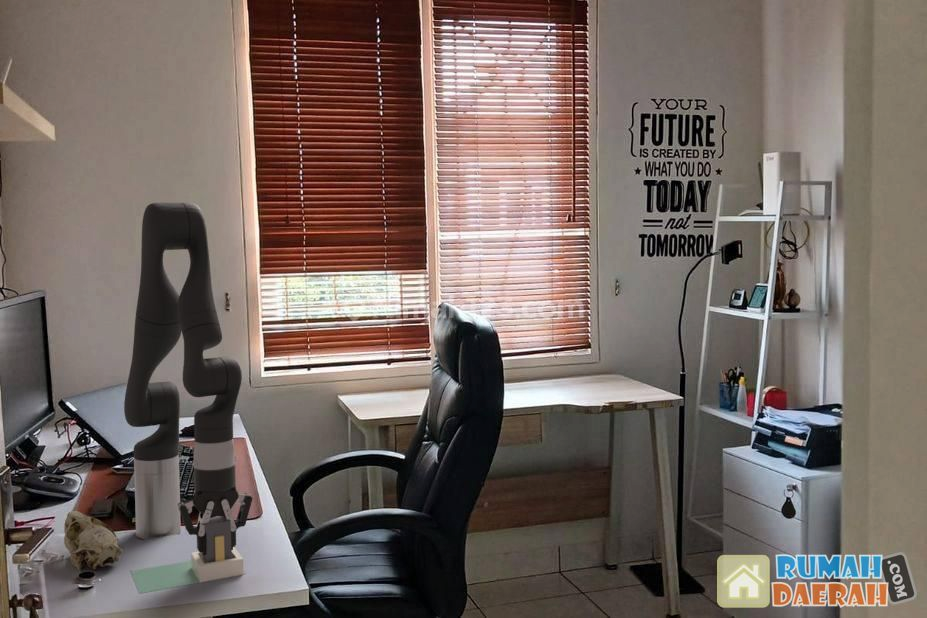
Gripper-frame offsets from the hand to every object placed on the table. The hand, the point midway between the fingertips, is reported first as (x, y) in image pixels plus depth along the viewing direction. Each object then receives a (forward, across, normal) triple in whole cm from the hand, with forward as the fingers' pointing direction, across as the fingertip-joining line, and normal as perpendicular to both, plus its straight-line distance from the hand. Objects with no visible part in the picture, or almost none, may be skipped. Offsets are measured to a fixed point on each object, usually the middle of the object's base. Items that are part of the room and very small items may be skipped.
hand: (216, 551), depth 161 cm
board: (+5, +5, -2) cm, 7 cm away
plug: (+2, 0, 0) cm, 2 cm away
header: (+4, 0, 0) cm, 4 cm away
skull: (+5, +21, -17) cm, 28 cm away
